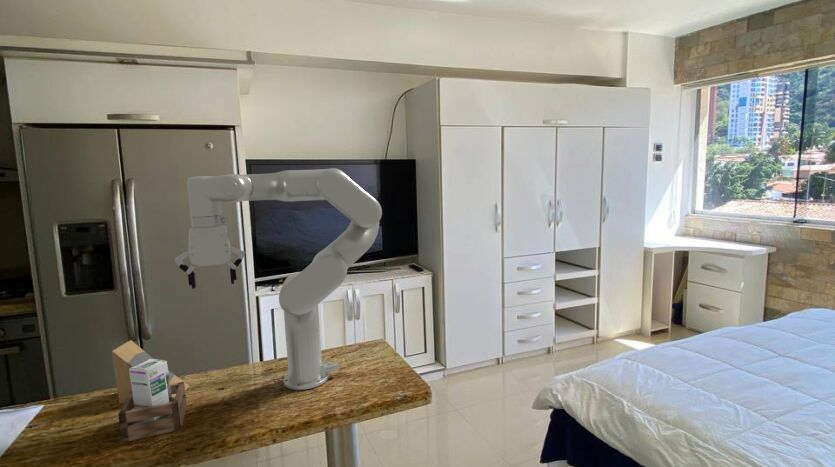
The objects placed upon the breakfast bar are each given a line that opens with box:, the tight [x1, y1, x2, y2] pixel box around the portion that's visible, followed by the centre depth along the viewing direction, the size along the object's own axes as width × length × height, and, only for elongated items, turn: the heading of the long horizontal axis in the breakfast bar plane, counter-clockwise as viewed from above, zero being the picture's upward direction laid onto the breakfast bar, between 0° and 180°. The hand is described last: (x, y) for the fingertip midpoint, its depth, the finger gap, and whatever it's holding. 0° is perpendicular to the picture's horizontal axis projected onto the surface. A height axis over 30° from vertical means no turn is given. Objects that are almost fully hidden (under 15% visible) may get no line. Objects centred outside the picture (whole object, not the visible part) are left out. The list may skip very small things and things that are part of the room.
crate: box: [118, 381, 188, 443], centre depth 108 cm, size 12×12×7 cm
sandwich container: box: [111, 339, 190, 404], centre depth 123 cm, size 9×15×15 cm, turn 93°
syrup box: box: [129, 358, 173, 424], centre depth 107 cm, size 6×6×14 cm
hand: (213, 285), depth 120 cm, fingers open, 9 cm apart
